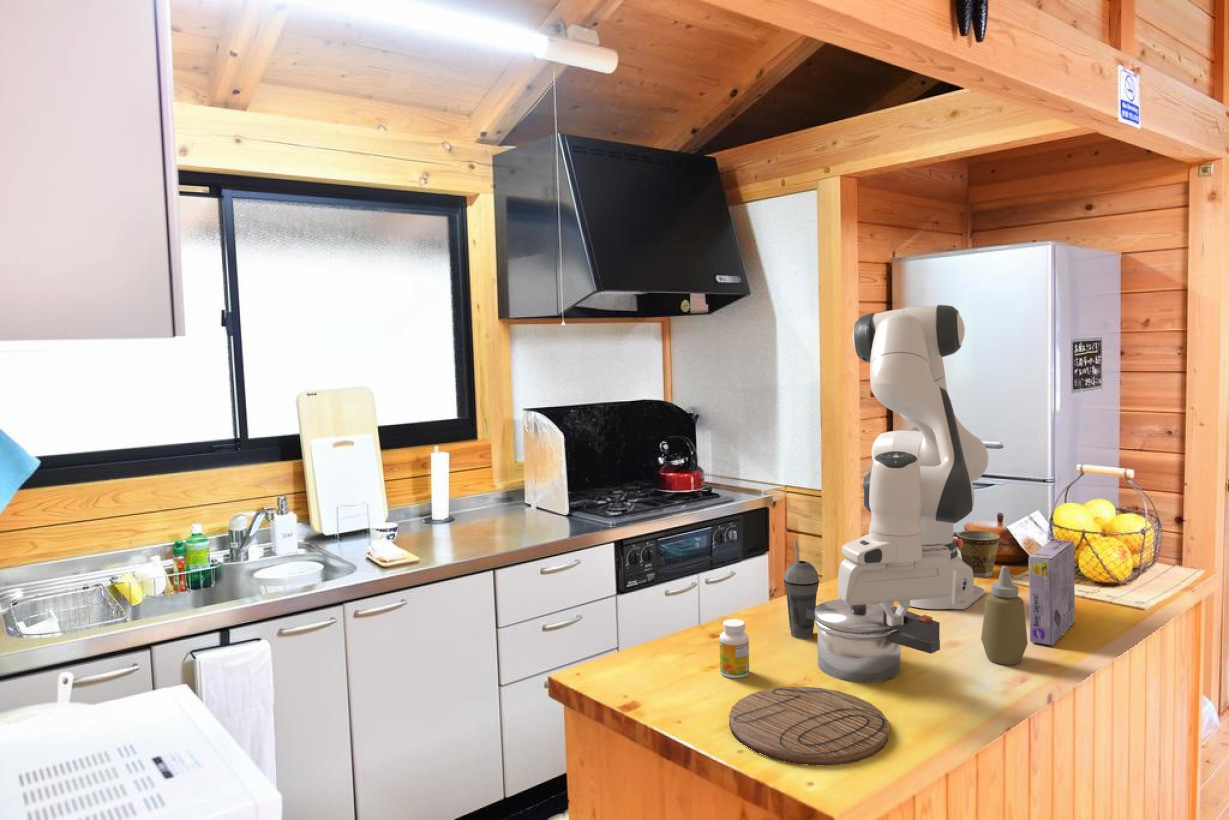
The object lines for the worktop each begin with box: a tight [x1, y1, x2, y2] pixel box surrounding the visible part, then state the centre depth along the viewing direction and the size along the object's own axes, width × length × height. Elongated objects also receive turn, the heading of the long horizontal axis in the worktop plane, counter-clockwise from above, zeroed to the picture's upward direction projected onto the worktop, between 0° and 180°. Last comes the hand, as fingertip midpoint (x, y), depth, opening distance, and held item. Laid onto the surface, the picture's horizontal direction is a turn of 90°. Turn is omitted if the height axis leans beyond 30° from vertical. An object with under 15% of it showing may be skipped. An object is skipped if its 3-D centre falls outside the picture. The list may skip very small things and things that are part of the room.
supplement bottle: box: [719, 618, 750, 679], centre depth 166 cm, size 5×5×10 cm
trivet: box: [728, 686, 889, 767], centre depth 144 cm, size 25×25×2 cm
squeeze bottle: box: [980, 565, 1028, 666], centre depth 168 cm, size 8×8×18 cm
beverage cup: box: [783, 539, 820, 639], centre depth 185 cm, size 7×7×20 cm
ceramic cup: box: [953, 529, 1001, 578], centre depth 226 cm, size 13×10×10 cm
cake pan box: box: [1028, 539, 1076, 647], centre depth 182 cm, size 19×5×18 cm, turn 140°
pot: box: [806, 605, 941, 683], centre depth 166 cm, size 16×27×9 cm, turn 40°
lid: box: [815, 598, 941, 642], centre depth 163 cm, size 16×26×5 cm, turn 28°
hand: (895, 624), depth 156 cm, fingers closed
